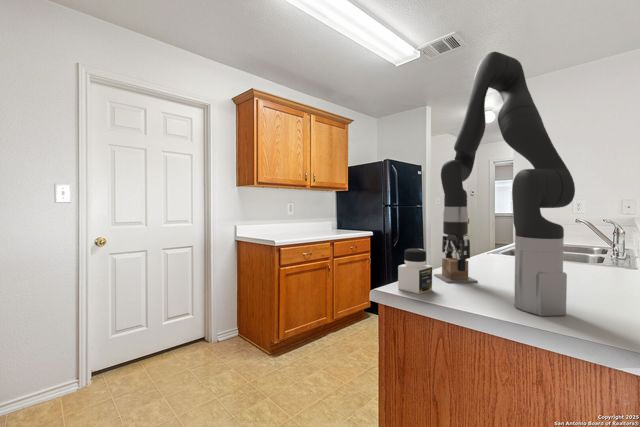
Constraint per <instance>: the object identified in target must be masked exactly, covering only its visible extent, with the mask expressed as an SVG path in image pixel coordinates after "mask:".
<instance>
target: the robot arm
mask: <svg viewBox="0 0 640 427" xmlns="http://www.w3.org/2000/svg"><path fill="white" fill-rule="evenodd" d="M489 89H492V90H495V91H497V92H498V93H499V95H500V96H501V99H502V101H503V104H502V106H501V108H499V109H500V110H499V112H498V115H497V124H498V128H499V130H500V134H501V136H502V138H503V141H504V142H505V143H506V144H507V145H508V146H509V147H510V148H511V149H512V150H513V151H515V152H516V153H518V154H519V155H521V156H522V157H523V158H524V159H526V160H527V161H528V162H529V163H530V164H531V166H532V167H533V168H525V169H521V170H520V171H517V173H516V175H515V176H514V179H513V181H512V187H511V188H512V189H511V190H512V191H511V197H512V200H511V201H512V218H513V219H512V221H513V225H514V229H515V230H514V231H515V232H514V233H515V237H514V239H515V240H514V246H515V247H514V307H515V308H516V309H518V310H520V311H523V312H526V313H531V314H535V315H537V316H540V317H541V316H546V317H547V316H548V317H549V316H550V317H551V316H567V288H568V287H567V285H568V284H567V282H568V280H567V279H568V276H567V275H568V274H567V273H566V272H564V242H565V241H564V236H565V233H564V232H565V230H564V229H565V228H564V227H563V225H561V224H558V223H556V222H553V221H551V220H548V219H547V218H545V217H544V216H543V215H542V213H541V209H559V208H565V207H567V206H569V205H570V204H571V203H572V202H573V200H574V199H575V193H576V192H575V191H576V186H575V181H574V178H573V176H572V173H571V172H570V170H569V168H568V167H567V165H566V164H565V162H564V161H563V159H562V157H561V156H560V155H559V153H558V151H557V149H556V147H555V145H554V144H553V141H552V140H551V138H550V135H549V134H548V131H547V129H546V127H545V125H544V121H543V119H542V117H541V114H540V112H539V110H538V108H537V106H536V104H535V102H534V99H533V96H532V94H531V91H529V88H528V85H527V81H526V77H525V73H524V68H523V66H522V63H521V62H520V61H519V60H518V59H517V58H515V57H513V56H511V55H507V54H504V53H501V52H499V51H498V52H497V51H491V52H489V53H488V54H486V55H485V56H484V57H483V58H482V59H481V60H480V62H479V64H478V66H477V68H476V70H475V74H474V77H473V81H472V86H471V89H470V94H469V99H468V102H467V108H466V112H465V114H464V119H463V122H462V125H461V127H460V130H459V133H458V135H457V137H456V140H455V143H454V144H453V145H454V147H453V149H454V152H455V156H454V159H450V160H447V161H445V162H444V163H443V165H442V166H441V170H440V180H441V186H442V191H443V194H444V195H443V197H444V199H443V202H444V203H443V204H444V206H443V214H442V215H443V218H442V219H443V220H442V222H443V223H442V224H443V225H442V226H443V227H442V228H443V229H442V233H443V236H442V242H441V243H442V245H441V252H442V253H444V255H445V258H454V256H453V254H455V255H456V258H458V271H465V260H468V259H470V258H471V249H470V248H471V244H470V243H471V242H470V241H471V240H469V239H464V236H468V234H469V231H468V230H469V224H468V223H469V214H468V213H469V212H468V194H467V191H466V190H465V189H464V185H463V182H465V181H466V180H468V179H469V177H470V175H471V174H472V172H473V168H474V164H475V161H476V160H475V159H476V153H477V151H478V149H479V147H480V144H481V143H482V139H483V137H484V134H485V130H486V113H485V112H486V108H485V106H486V105H485V104H486V97H487V93H488V91H489Z"/></svg>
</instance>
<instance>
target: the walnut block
mask: <svg viewBox="0 0 640 427" xmlns="http://www.w3.org/2000/svg"><path fill="white" fill-rule="evenodd" d="M441 274H442V276H444V277H446V278H448V279H450V280H453V279H468V277H469V260H468V259H466V260H465V271H458V257H453V258H446V257H442V258H441Z"/></svg>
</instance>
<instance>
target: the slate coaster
mask: <svg viewBox="0 0 640 427" xmlns="http://www.w3.org/2000/svg"><path fill="white" fill-rule="evenodd" d="M433 276H434V277H436V278H437V279H439V280H441V281H443V282H444V283H447V284H468V283H469V284H470V283H473V284H474V283H475V284H476V283H477V284H478V283H479V281H478V280H477V279H475V278H472V277H470V276H468V279H453V280H450V279H448V278H446V277H444V276H442V273H434V274H433Z"/></svg>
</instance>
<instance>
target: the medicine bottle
mask: <svg viewBox="0 0 640 427" xmlns="http://www.w3.org/2000/svg"><path fill="white" fill-rule="evenodd" d="M397 270H398V271H397V272H398V273H397V275H398V276H397V277H398V278H397V287H398V290H401V291H404V292H409V293H413V294H417V295H421V294H423V293H427V292H430V291H432V290H433V266H432V265H430V264H429V265H428V264H427V251H426V250H424V249H422V248H407V249H405V250H404V264H400V265H398V267H397Z"/></svg>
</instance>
